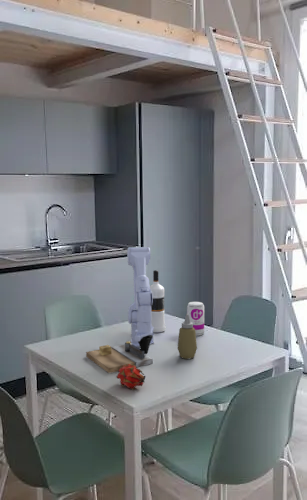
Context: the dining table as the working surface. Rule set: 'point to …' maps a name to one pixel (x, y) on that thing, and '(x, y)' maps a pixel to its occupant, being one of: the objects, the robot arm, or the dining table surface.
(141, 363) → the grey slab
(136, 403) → the dining table surface
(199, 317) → the supplement can
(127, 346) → the lock bar
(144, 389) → the dining table surface
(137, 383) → the dragon fruit
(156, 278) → the vodka
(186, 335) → the squeeze bottle
